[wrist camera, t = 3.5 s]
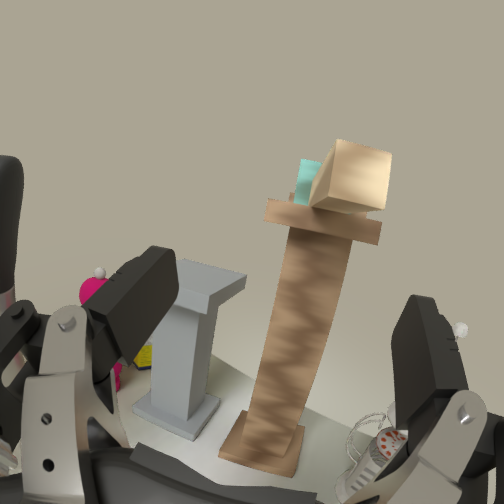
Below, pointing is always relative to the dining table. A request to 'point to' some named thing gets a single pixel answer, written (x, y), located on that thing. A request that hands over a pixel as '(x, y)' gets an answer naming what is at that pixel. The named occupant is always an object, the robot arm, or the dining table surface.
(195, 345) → the slate pedestal
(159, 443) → the dining table surface
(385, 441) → the french press
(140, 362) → the supplement box
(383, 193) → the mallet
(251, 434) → the walnut stand
